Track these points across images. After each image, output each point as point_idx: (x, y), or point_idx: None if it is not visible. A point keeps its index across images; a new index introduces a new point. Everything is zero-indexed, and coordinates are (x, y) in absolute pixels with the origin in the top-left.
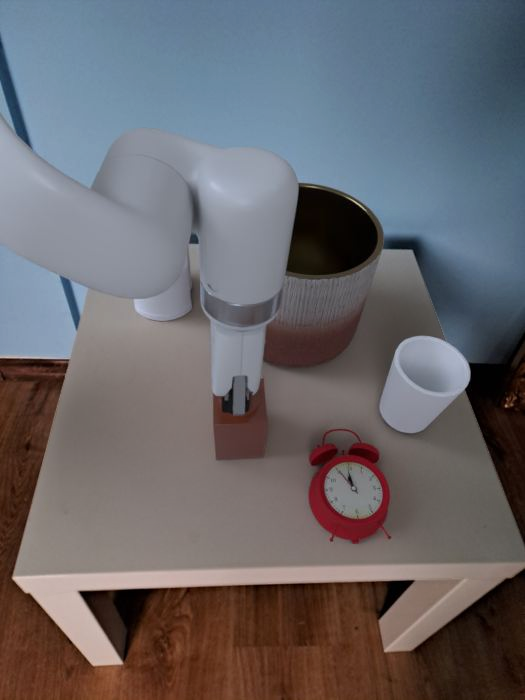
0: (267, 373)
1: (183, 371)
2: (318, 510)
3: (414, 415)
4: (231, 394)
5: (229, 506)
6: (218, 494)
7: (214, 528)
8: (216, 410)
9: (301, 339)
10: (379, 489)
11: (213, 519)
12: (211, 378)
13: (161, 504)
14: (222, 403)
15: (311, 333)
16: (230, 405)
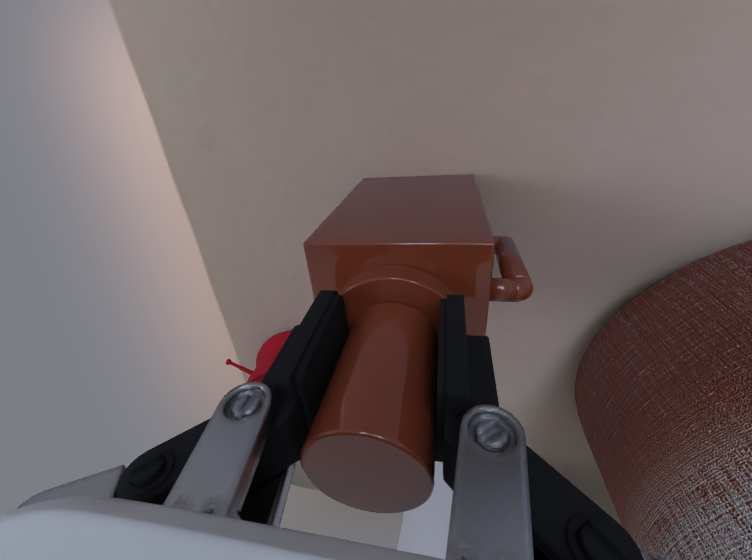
0: (587, 298)
1: (676, 55)
2: (277, 347)
3: (403, 519)
4: (148, 502)
5: (274, 206)
6: (292, 185)
7: (230, 179)
8: (358, 253)
9: (626, 460)
10: None
11: (245, 176)
12: (77, 546)
13: (248, 51)
14: (298, 328)
15: (631, 501)
16: (274, 365)
